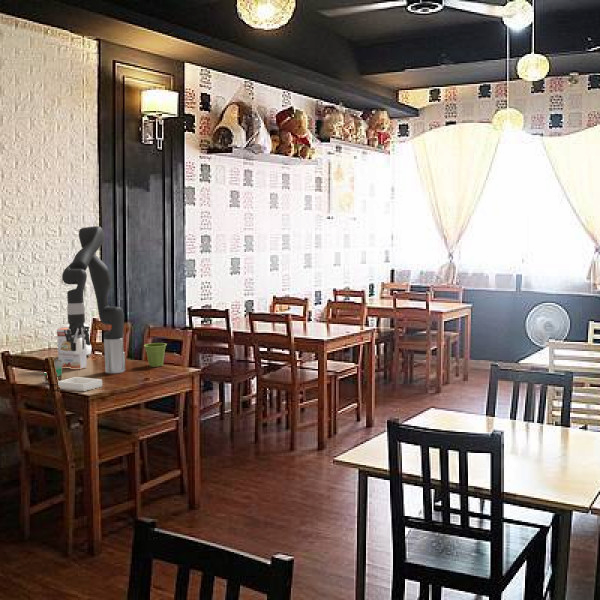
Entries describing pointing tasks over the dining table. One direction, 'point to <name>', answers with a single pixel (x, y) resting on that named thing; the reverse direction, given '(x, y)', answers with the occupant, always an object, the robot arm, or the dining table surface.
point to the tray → (80, 383)
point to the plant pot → (155, 353)
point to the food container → (58, 369)
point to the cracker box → (70, 352)
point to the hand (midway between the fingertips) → (77, 350)
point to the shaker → (78, 345)
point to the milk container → (88, 345)
